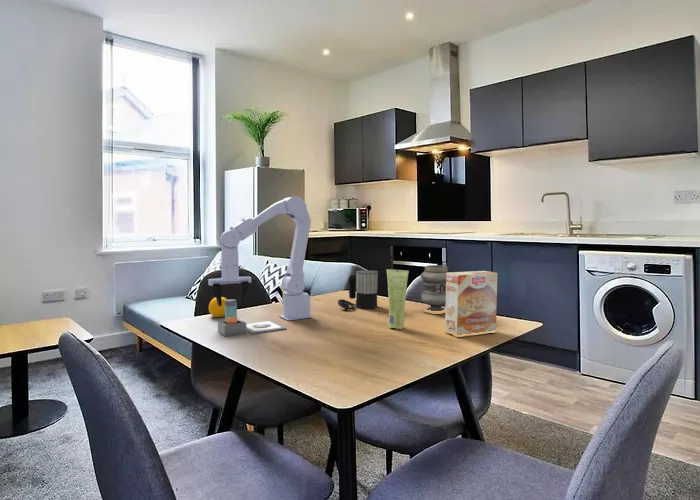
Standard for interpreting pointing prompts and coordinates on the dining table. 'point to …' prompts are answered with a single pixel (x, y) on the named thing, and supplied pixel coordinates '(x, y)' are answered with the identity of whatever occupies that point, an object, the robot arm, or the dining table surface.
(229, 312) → the marker
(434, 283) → the apothecary jar
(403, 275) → the tube
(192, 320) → the dining table surface
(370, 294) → the milk frother
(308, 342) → the dining table surface
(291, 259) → the robot arm
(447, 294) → the coffeecake box
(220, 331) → the button housing
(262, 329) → the board
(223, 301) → the apple
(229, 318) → the button
